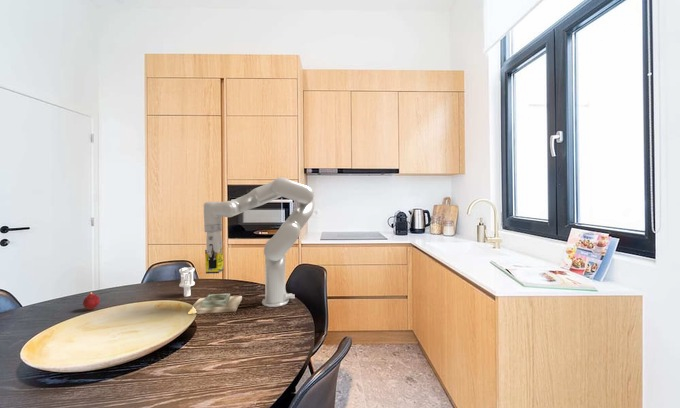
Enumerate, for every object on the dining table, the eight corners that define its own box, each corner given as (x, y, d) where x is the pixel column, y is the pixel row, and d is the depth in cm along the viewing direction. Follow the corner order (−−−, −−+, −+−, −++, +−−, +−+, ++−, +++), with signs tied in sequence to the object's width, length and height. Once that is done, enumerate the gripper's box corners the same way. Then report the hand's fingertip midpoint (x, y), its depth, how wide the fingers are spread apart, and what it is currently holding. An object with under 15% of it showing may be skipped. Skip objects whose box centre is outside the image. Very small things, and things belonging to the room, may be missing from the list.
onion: (103, 307, 131) (103, 290, 131) (91, 312, 126) (91, 294, 125) (92, 307, 132) (91, 290, 132) (79, 312, 126) (79, 294, 126)
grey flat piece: (241, 298, 143) (241, 290, 143) (235, 311, 127) (235, 302, 127) (199, 301, 139) (199, 293, 139) (187, 314, 124) (187, 305, 123)
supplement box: (218, 273, 129) (217, 249, 129) (205, 273, 129) (204, 250, 129) (224, 270, 135) (223, 247, 135) (211, 270, 135) (210, 247, 135)
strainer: (176, 297, 145) (175, 268, 145) (187, 292, 152) (187, 265, 152) (187, 298, 143) (186, 269, 143) (197, 294, 150) (197, 265, 150)
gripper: (217, 229, 124) (218, 270, 124) (225, 226, 141) (227, 261, 141) (199, 230, 122) (200, 271, 123) (209, 226, 139) (211, 262, 140)
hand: (214, 266), depth 132 cm, fingers closed on supplement box, 6 cm apart
